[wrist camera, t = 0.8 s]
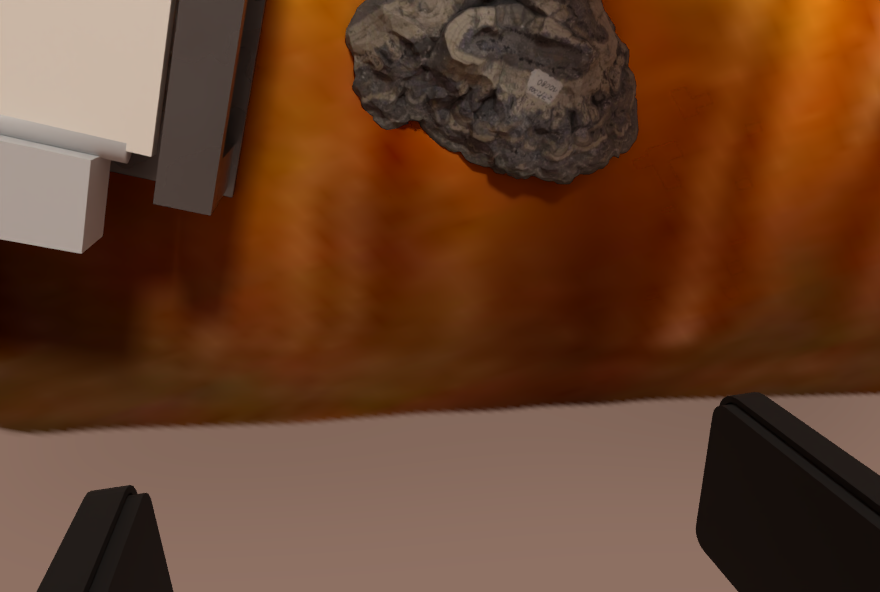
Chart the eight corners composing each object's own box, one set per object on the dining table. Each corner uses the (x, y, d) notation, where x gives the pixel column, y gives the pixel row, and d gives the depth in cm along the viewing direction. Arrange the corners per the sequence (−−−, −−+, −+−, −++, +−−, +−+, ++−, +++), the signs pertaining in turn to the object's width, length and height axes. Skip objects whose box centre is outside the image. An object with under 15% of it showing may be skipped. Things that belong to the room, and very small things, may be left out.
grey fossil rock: (411, -182, 31) (321, 106, 35) (426, -214, 27) (324, 111, 31) (699, -19, 37) (595, 211, 41) (742, -28, 33) (624, 224, 37)
